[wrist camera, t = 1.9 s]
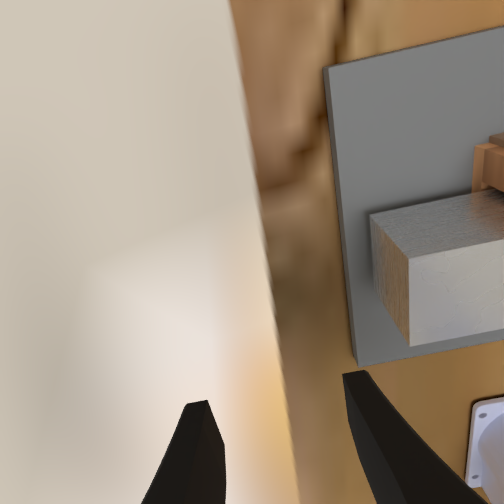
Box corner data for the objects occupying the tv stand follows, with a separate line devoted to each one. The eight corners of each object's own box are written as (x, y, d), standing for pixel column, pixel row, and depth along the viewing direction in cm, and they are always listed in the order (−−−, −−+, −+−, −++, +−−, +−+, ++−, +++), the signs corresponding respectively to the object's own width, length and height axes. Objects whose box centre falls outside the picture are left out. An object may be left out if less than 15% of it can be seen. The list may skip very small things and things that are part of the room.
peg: (544, 255, 18) (623, 305, 14) (374, 289, 18) (409, 346, 14) (559, 174, 16) (654, 208, 12) (369, 214, 16) (408, 258, 13)
